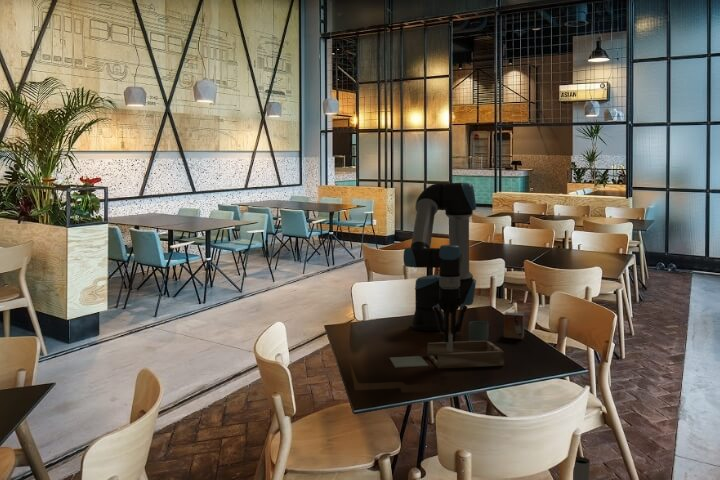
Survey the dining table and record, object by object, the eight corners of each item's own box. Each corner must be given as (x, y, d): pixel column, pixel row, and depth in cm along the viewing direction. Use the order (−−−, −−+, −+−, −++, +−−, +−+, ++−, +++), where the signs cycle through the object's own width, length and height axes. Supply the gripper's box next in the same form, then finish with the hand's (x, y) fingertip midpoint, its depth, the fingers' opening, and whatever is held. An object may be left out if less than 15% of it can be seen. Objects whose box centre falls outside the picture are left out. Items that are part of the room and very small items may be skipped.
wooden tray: (427, 355, 226) (427, 342, 226) (488, 352, 229) (488, 340, 229) (438, 368, 209) (438, 354, 209) (504, 365, 212) (504, 351, 212)
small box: (503, 338, 252) (503, 314, 251) (505, 335, 257) (505, 311, 256) (522, 340, 249) (523, 315, 248) (524, 337, 254) (524, 312, 253)
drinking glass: (587, 488, 246) (588, 465, 245) (571, 484, 249) (571, 461, 248) (590, 481, 251) (591, 458, 250) (574, 477, 255) (575, 455, 254)
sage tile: (389, 358, 223) (389, 357, 223) (420, 357, 224) (420, 356, 224) (395, 367, 211) (395, 366, 211) (428, 366, 213) (428, 365, 213)
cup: (488, 350, 233) (488, 325, 232) (468, 349, 234) (468, 324, 234) (488, 345, 240) (488, 321, 240) (468, 344, 242) (468, 320, 241)
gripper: (435, 289, 212) (435, 354, 214) (470, 288, 214) (470, 352, 215) (429, 286, 219) (429, 348, 221) (463, 285, 221) (463, 347, 223)
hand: (449, 350), depth 218 cm, fingers closed
